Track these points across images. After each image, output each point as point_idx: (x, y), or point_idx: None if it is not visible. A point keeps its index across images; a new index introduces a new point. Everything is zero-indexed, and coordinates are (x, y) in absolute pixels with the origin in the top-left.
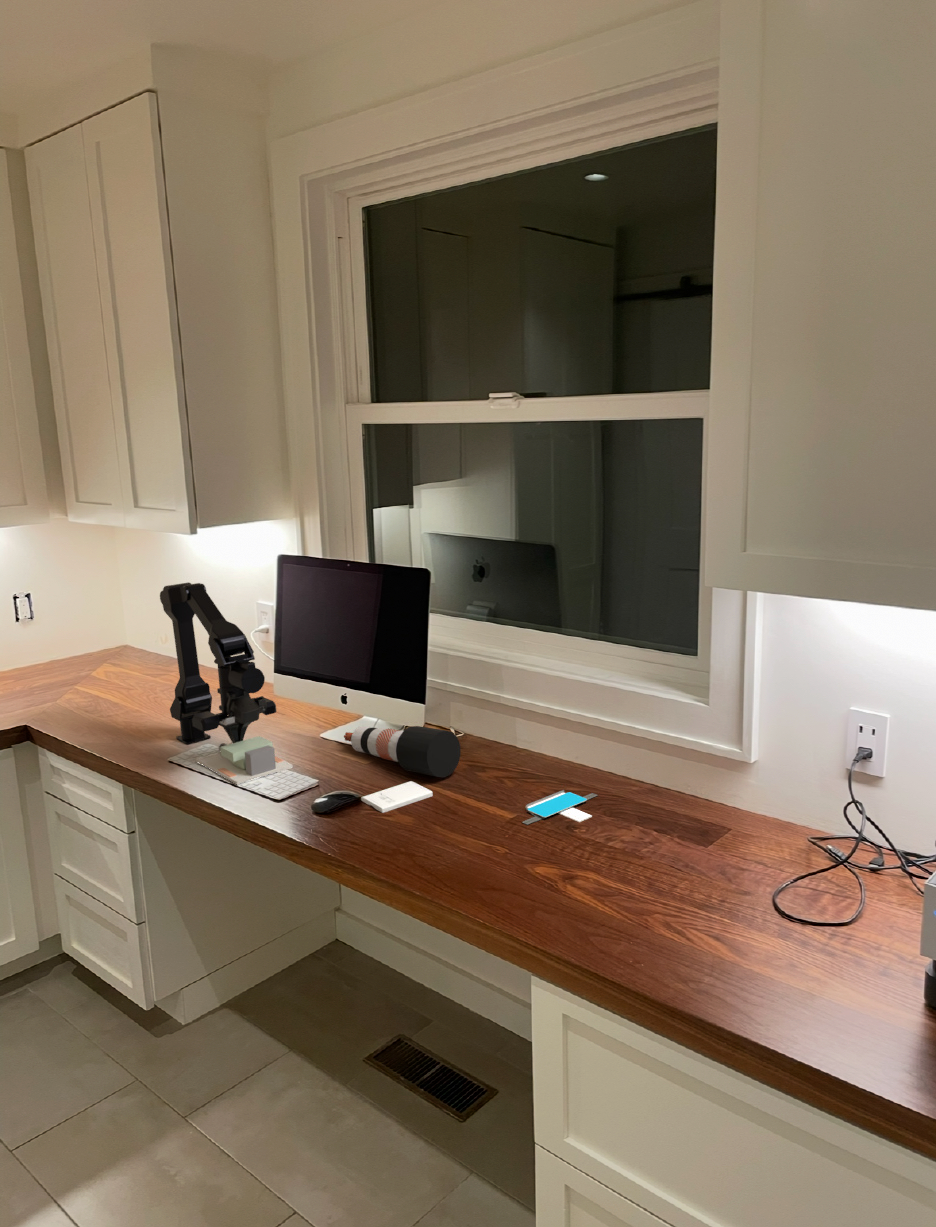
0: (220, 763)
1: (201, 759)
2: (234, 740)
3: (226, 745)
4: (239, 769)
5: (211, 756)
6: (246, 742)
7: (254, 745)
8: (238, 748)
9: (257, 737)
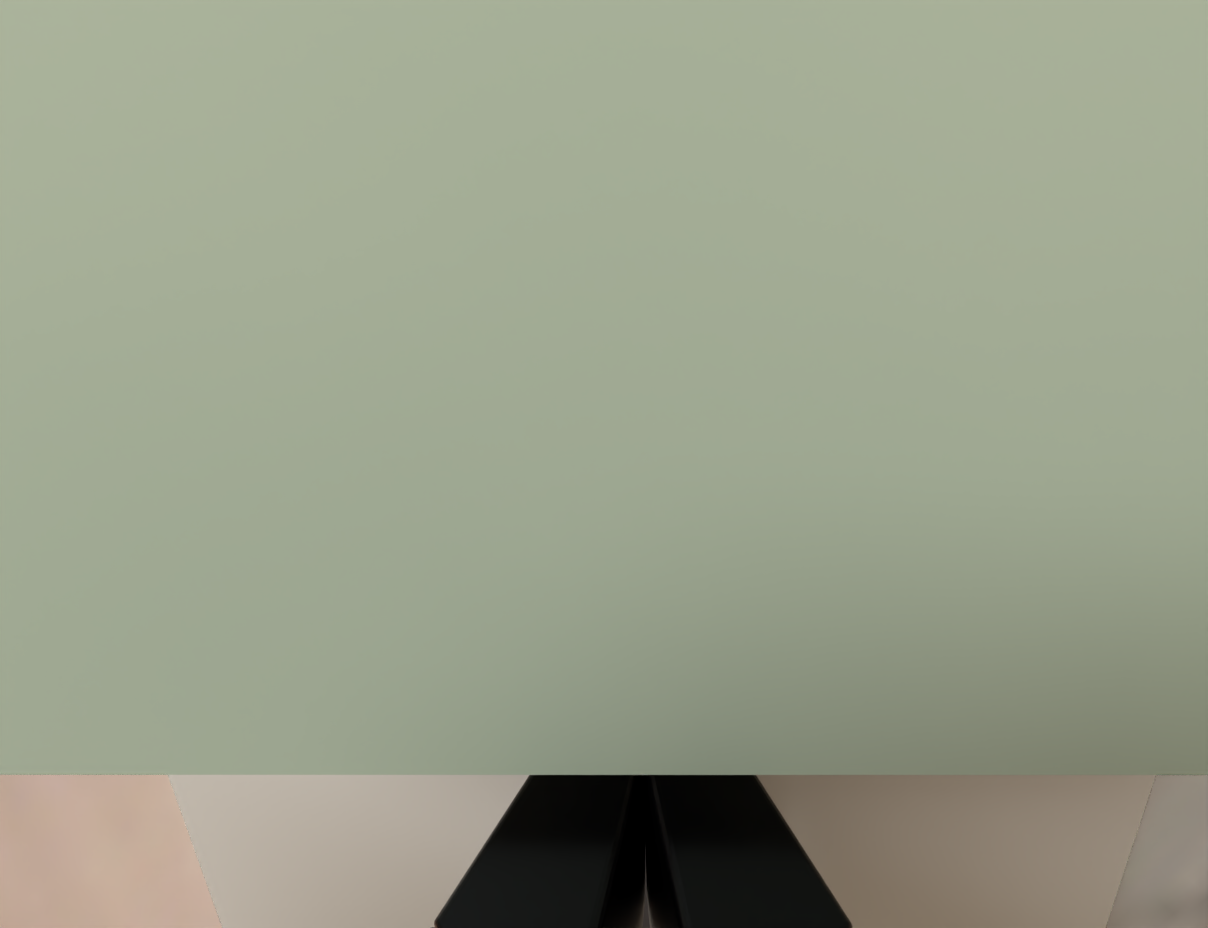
0: None
1: (1060, 908)
2: (805, 866)
3: (1148, 757)
4: None
5: (885, 912)
6: (529, 569)
7: (414, 25)
8: (1129, 200)
9: (52, 709)
